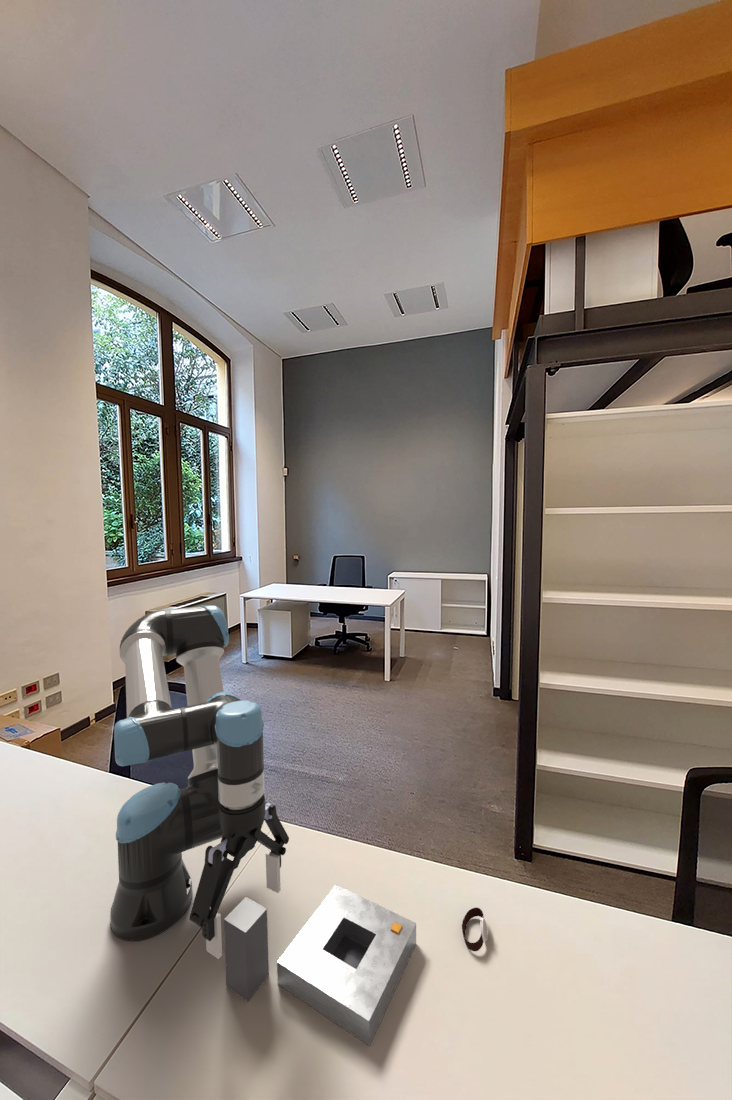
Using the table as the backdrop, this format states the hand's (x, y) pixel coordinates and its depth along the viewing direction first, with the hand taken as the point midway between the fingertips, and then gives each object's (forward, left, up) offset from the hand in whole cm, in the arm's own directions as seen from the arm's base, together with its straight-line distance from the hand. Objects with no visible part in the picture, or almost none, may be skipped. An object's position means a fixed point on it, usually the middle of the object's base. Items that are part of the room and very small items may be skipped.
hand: (246, 918), depth 72 cm
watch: (+32, +27, -12) cm, 43 cm away
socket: (+14, +11, -11) cm, 21 cm away
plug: (0, 0, -12) cm, 12 cm away
